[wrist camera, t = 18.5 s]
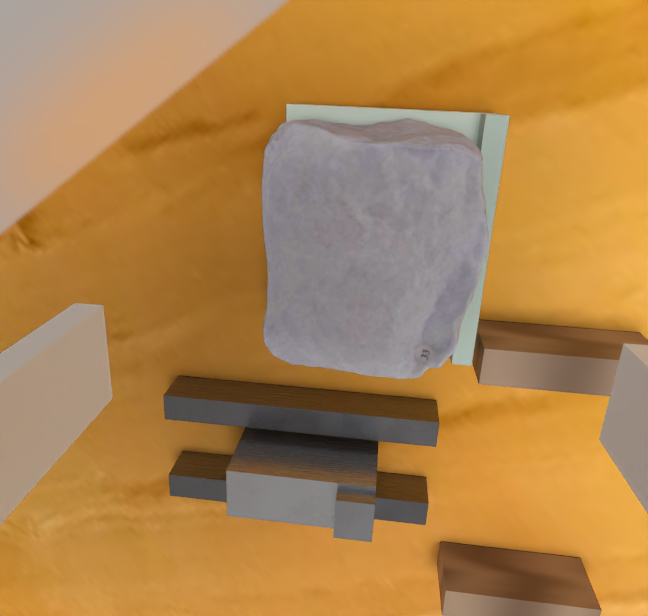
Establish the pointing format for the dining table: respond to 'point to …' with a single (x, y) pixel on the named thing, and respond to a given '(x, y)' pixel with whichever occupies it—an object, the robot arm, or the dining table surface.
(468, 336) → the pale green ledge block
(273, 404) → the guide
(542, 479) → the dining table surface
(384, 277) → the stone block
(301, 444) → the grey metal block
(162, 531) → the dining table surface
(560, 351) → the brown piece
